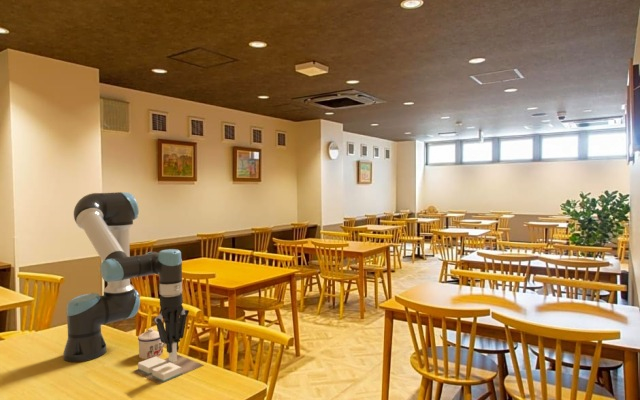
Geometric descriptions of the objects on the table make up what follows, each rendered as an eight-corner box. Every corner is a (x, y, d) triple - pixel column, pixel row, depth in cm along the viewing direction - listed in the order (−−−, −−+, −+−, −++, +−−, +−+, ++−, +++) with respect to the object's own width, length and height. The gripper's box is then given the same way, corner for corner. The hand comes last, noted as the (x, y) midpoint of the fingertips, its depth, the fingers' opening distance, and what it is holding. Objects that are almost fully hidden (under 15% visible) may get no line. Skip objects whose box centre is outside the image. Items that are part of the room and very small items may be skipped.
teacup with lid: (148, 365, 159) (147, 334, 158) (133, 359, 164) (132, 330, 163) (174, 353, 169) (173, 325, 168) (160, 349, 174) (159, 321, 173)
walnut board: (133, 375, 150) (132, 371, 150) (177, 358, 165) (177, 354, 165) (159, 388, 140) (159, 384, 140) (204, 369, 154) (204, 365, 154)
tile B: (170, 369, 152) (152, 376, 146) (169, 362, 151) (151, 369, 146) (181, 374, 147) (163, 381, 142) (181, 367, 147) (163, 374, 142)
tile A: (155, 362, 157) (138, 369, 151) (155, 356, 157) (137, 362, 151) (166, 367, 153) (148, 374, 147) (166, 360, 153) (148, 367, 147)
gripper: (160, 300, 140) (162, 369, 141) (193, 291, 150) (195, 356, 151) (147, 296, 145) (149, 364, 146) (180, 288, 155) (182, 351, 156)
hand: (172, 360), depth 149 cm, fingers closed
